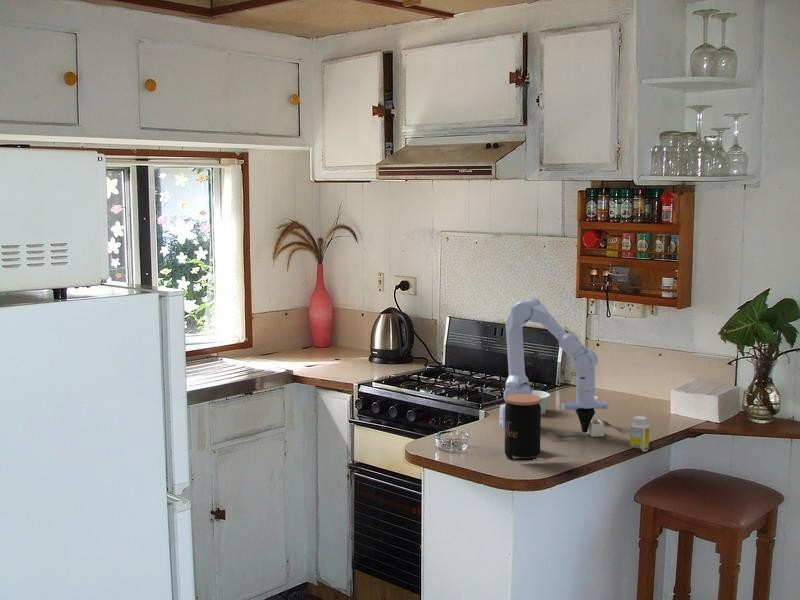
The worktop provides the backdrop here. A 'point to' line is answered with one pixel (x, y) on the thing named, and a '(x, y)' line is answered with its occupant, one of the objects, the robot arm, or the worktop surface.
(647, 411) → the worktop surface
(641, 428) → the supplement bottle
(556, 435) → the fader board
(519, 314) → the robot arm
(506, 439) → the coffee jar
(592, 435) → the fader knob
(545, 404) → the food container
